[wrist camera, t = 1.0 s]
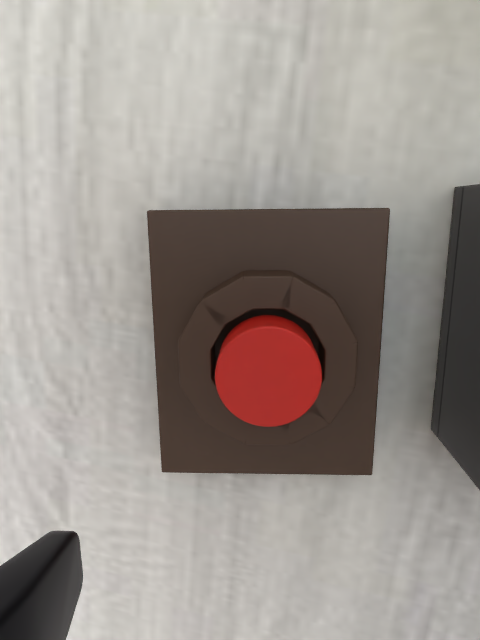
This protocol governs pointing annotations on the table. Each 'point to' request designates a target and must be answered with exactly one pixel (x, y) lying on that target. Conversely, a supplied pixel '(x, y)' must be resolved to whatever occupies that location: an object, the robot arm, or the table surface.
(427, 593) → the table surface
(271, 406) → the release button
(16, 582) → the robot arm
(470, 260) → the black box
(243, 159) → the table surface
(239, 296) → the brown button base
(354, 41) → the table surface
